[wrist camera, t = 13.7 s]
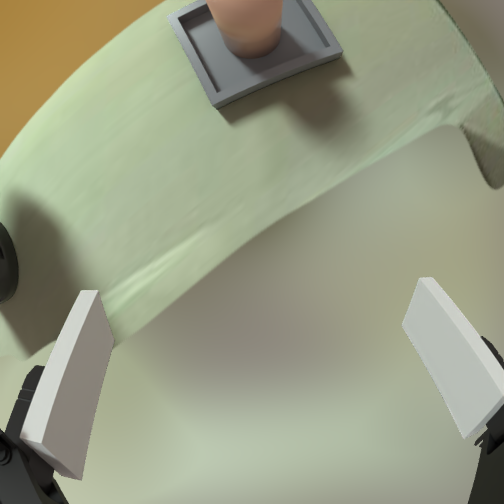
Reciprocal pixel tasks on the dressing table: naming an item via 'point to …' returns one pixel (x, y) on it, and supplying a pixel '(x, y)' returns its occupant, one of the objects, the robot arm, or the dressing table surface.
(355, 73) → the dressing table surface
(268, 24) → the peach domed cylinder
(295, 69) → the tray
